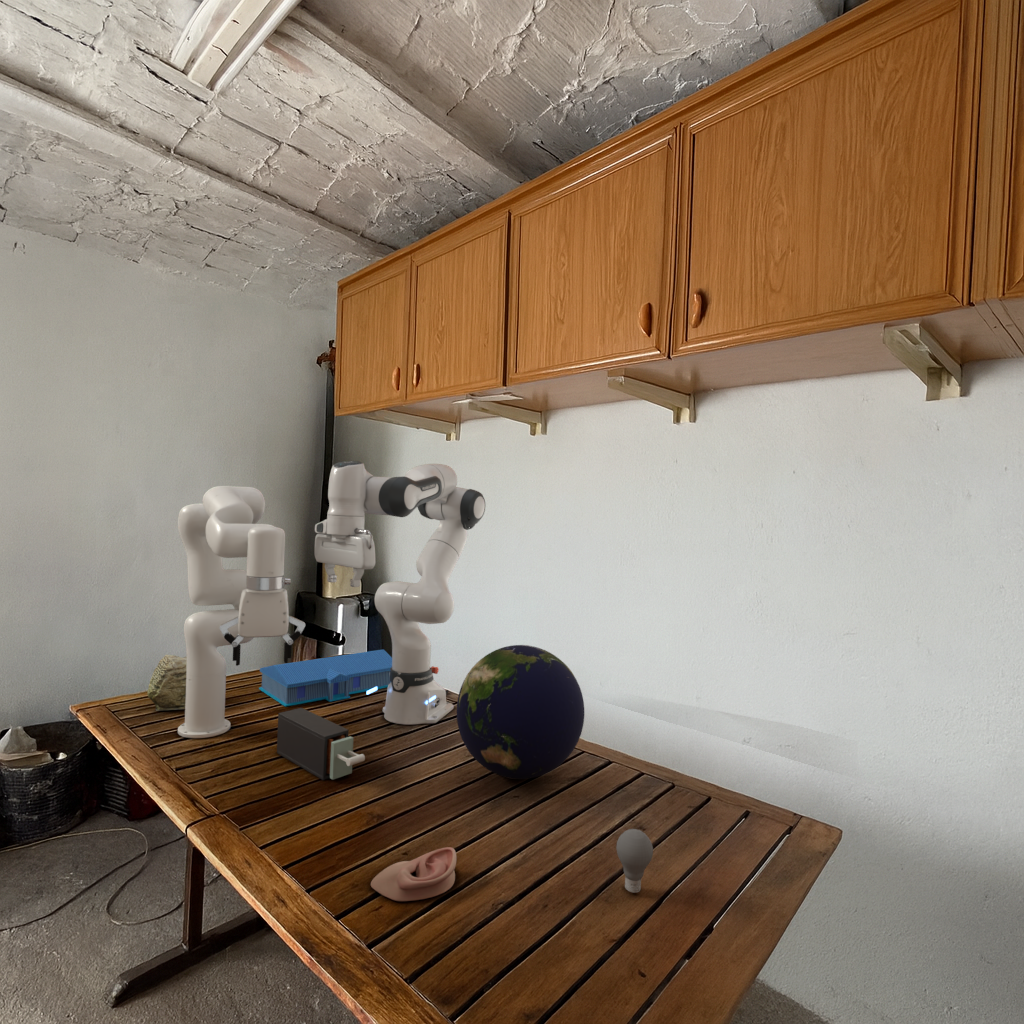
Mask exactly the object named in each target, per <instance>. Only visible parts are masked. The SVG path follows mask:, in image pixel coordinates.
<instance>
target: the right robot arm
mask: <svg viewBox="0 0 1024 1024" xmlns="http://www.w3.org/2000/svg"><path fill="white" fill-rule="evenodd" d="M457 485H458V475H457V473H456V472H455V470H454V469H453V468H452V467H451V466H449V465H447V464H443V463H425V464H419V465H416V466H414V467H411V468H410V469H409V470H407V471H406V472H405V474H404V476H374V475H373V474H371V473H370V472H369V471H368V470H367V469H366V467H365V463H364V462H362V461H358V460H348V461H346V460H345V461H338V462H336V463H334V464H333V465H332V466H331V469H330V473H329V479H328V489H327V499H328V503H329V504H328V505H329V506H328V510H327V513H326V514H327V516H326V519H323V520H322V521H320V522H318V523H315V525H314V532H315V533H316V535H315V538H314V558H315V560H316V562H317V563H322V564H324V570H325V573H326V577H327V578H326V582H328V583H336V582H338V581H337V580H338V574H336V571H335V568H336V566H340V567H345V568H352V573H354V574H353V576H352V578H350V580H349V583H350V584H349V585H350V587H352V588H360V586H361V579H362V577H363V576H364V574H365V570H372V569H374V567H375V566H376V546H375V541H374V536H373V534H372V533H371V531H370V530H368V529H365V520H366V515H379V516H391V517H396V518H406V517H408V516H409V515H411V513H413V512H414V511H415V510H416V509H417V510H418V512H419V514H420V515H421V516H422V517H423V518H426V519H428V520H436V521H439V524H438V527H437V528H436V529H435V530H434V532H433V533H432V534H431V536H430V537H429V539H428V540H427V542H426V544H425V545H424V547H423V548H422V551H421V552H420V554H419V555H418V557H417V559H416V562H415V567H416V570H417V572H418V574H419V575H420V580H419V581H417V582H409V581H400V580H396V581H388V582H384V583H382V584H381V585H379V586H378V588H377V590H376V591H375V594H374V606H375V609H376V610H377V612H378V613H379V614H380V615H381V616H382V617H383V619H384V621H385V623H386V625H387V628H388V632H389V634H390V635H389V636H390V638H391V657H392V667H391V669H390V681H391V683H390V684H389V685H388V687H387V690H386V697H385V705H384V706H383V707H382V713H383V714H384V715H383V718H384V719H385V720H386V721H388V722H390V723H393V724H398V725H421V724H436V723H438V722H439V721H440V720H442V719H443V718H444V717H445V716H446V715H448V714H449V713H450V712H451V711H453V710H454V709H455V706H454V704H453V703H451V702H449V701H447V694H448V693H449V689H445V688H444V687H443V686H442V685H441V684H439V682H438V681H436V680H435V679H434V674H435V675H437V674H438V673H439V670H440V669H439V666H434V665H433V666H431V655H432V644H431V640H430V638H429V637H428V636H427V635H426V634H425V633H424V632H423V630H422V629H421V627H420V623H421V624H426V625H436V624H444V623H446V622H447V621H448V620H450V618H451V617H452V615H453V613H454V611H455V599H454V596H453V594H452V593H451V591H450V589H449V581H450V577H452V573H453V571H454V570H455V567H456V565H457V563H458V561H459V559H460V557H461V555H463V551H464V549H465V546H466V543H467V539H468V531H469V530H472V529H474V527H475V526H476V525H477V524H478V523H479V522H480V521H481V520H482V518H483V517H484V515H485V511H486V500H485V497H484V494H483V493H482V492H480V491H479V490H476V489H472V488H464V487H460V486H459V487H458V486H457ZM377 691H378V689H377V687H375V688H372V689H370V690H368V691H366V695H370V694H372V693H374V692H377Z"/></svg>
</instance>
